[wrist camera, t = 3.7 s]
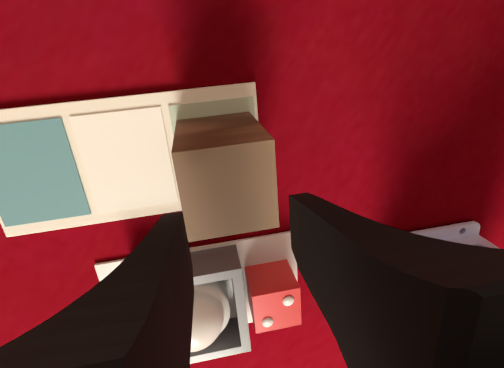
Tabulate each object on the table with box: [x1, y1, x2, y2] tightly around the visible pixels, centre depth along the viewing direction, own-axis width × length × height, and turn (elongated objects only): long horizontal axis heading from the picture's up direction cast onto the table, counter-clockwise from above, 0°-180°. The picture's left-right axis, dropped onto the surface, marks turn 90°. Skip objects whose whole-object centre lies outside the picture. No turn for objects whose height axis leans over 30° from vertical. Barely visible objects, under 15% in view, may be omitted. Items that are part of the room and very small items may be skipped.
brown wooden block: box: [171, 112, 279, 242], centre depth 16 cm, size 4×4×6 cm
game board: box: [0, 82, 258, 237], centre depth 19 cm, size 15×7×1 cm, turn 94°
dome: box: [191, 280, 230, 352], centre depth 21 cm, size 5×5×4 cm
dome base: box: [94, 231, 301, 364], centre depth 22 cm, size 13×7×3 cm, turn 94°
